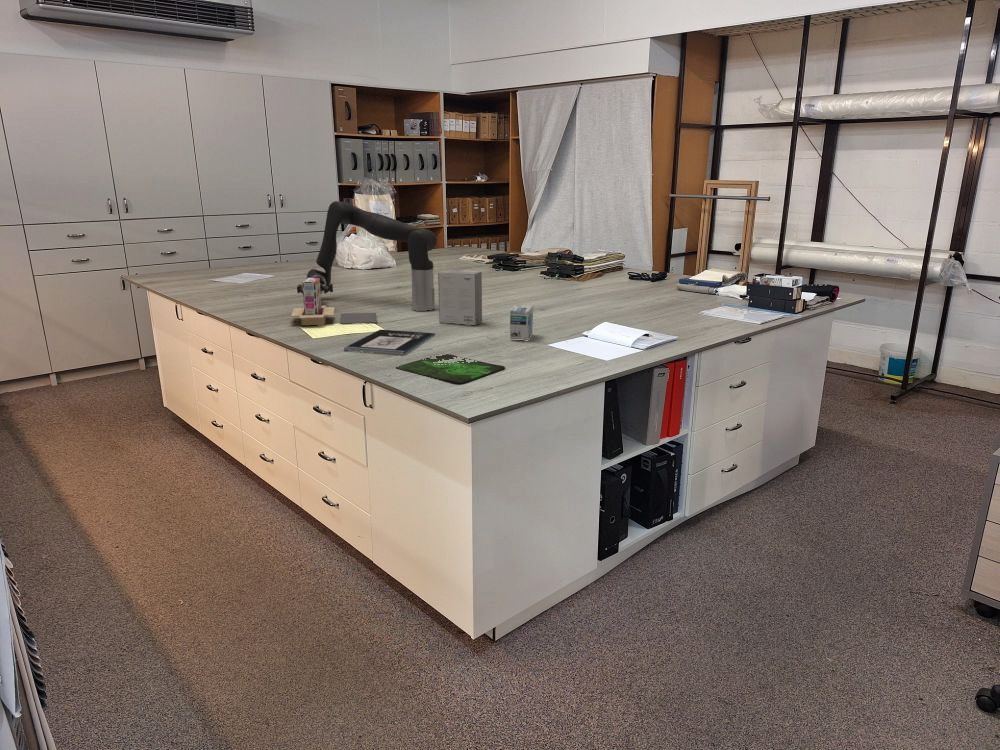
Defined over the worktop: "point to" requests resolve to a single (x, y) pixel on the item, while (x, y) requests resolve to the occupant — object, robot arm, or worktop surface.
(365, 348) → the sketchbook
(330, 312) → the carton
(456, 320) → the hard drive box
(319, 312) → the candy bar box
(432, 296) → the robot arm
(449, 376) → the mouse mat
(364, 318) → the mat
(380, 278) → the worktop surface
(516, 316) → the light bulb box
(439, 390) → the worktop surface
